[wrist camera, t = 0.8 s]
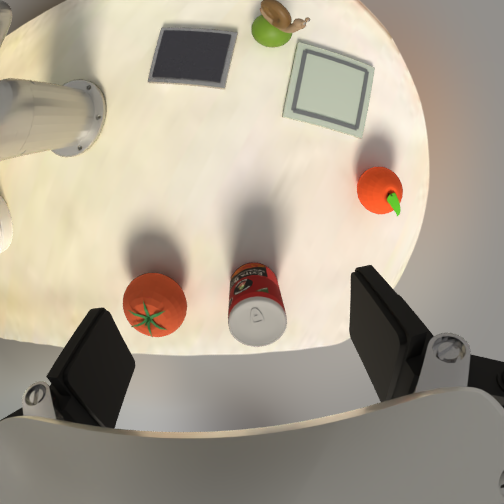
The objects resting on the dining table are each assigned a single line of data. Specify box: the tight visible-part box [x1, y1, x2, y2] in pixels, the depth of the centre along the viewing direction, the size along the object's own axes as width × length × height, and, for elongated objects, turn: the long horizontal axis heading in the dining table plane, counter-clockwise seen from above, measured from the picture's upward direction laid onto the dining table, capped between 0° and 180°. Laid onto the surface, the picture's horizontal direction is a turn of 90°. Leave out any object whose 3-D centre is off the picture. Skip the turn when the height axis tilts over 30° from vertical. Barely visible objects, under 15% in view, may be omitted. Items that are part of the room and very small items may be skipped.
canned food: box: [228, 263, 287, 347], centre depth 40 cm, size 8×8×11 cm
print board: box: [282, 42, 375, 139], centre depth 33 cm, size 12×12×1 cm
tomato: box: [123, 273, 187, 337], centre depth 40 cm, size 10×10×10 cm
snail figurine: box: [252, 0, 310, 47], centre depth 25 cm, size 5×6×12 cm
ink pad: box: [148, 28, 238, 89], centre depth 30 cm, size 11×9×2 cm
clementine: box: [357, 167, 403, 216], centre depth 36 cm, size 8×7×7 cm
